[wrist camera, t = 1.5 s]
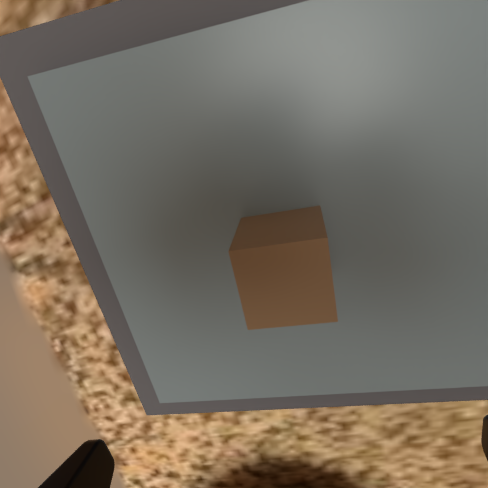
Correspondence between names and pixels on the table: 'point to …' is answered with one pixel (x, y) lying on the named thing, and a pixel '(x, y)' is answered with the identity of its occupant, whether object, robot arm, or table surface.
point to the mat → (41, 142)
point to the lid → (291, 197)
